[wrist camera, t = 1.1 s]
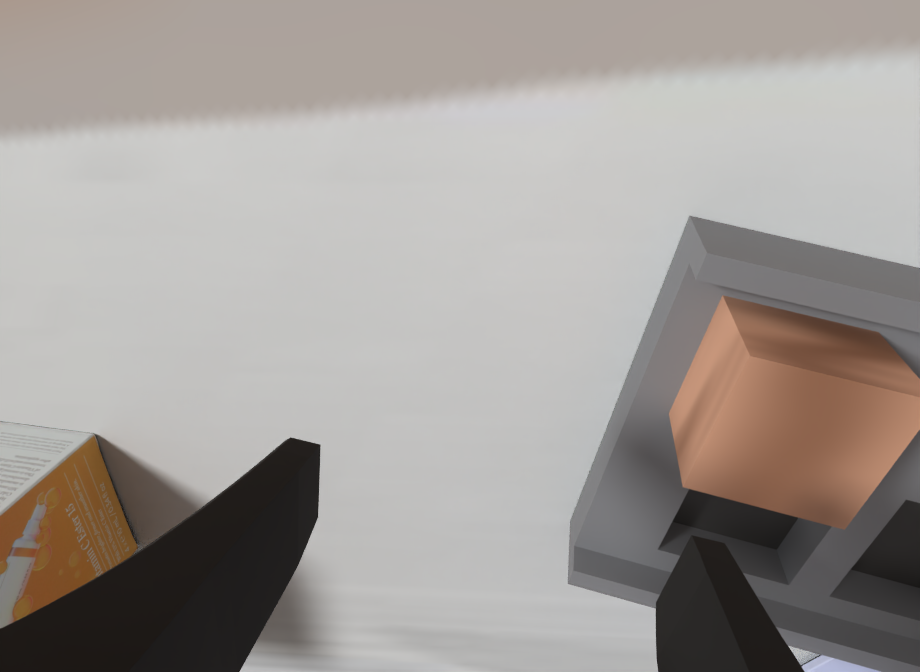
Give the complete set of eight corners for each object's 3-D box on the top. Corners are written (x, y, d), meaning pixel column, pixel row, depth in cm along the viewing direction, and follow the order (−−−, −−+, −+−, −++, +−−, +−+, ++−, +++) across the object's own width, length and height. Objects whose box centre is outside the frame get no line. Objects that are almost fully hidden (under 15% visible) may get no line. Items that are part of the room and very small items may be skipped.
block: (878, 332, 17) (939, 402, 14) (805, 447, 19) (844, 529, 16) (722, 295, 17) (750, 356, 14) (668, 413, 20) (682, 486, 17)
